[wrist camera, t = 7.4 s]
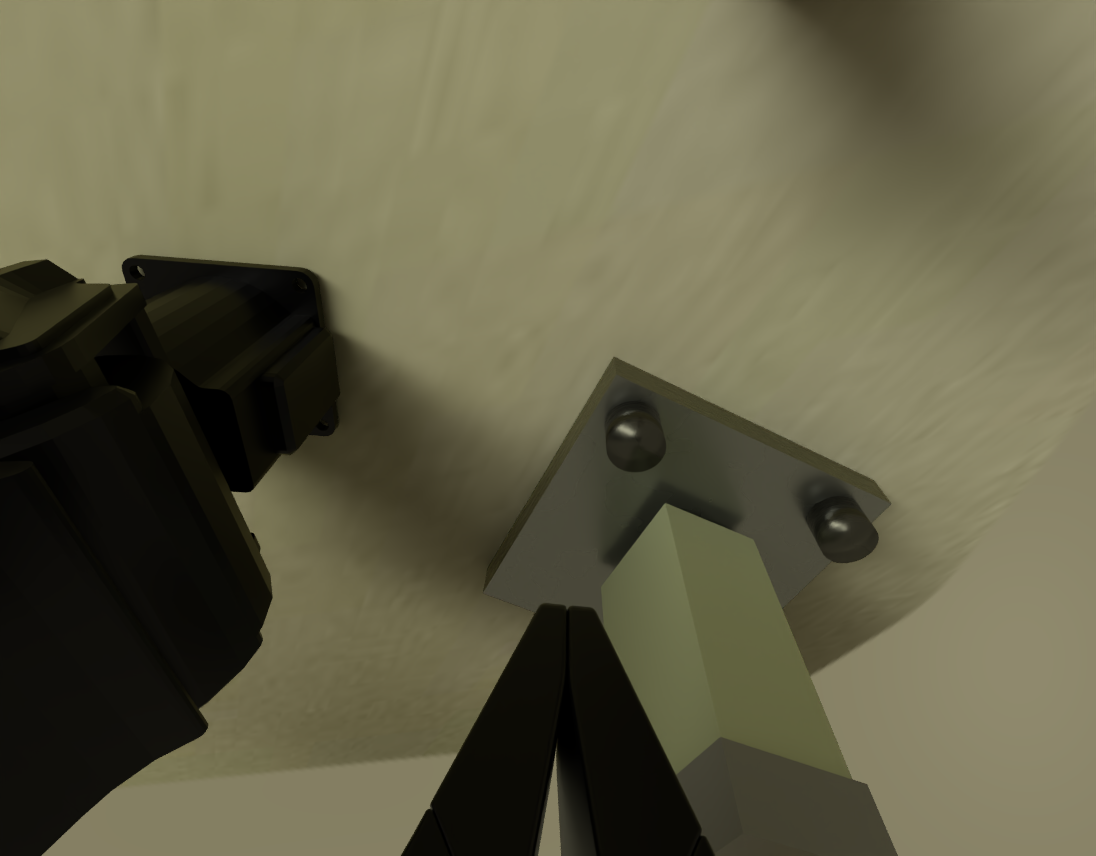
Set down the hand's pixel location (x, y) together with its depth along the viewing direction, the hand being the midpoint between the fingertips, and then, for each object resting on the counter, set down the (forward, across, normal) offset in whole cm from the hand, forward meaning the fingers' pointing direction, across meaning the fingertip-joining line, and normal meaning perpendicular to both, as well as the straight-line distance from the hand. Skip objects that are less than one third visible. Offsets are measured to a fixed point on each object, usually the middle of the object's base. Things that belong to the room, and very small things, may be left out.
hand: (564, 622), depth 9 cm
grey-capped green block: (+11, -5, +9) cm, 15 cm away
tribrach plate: (+13, -5, +9) cm, 17 cm away
